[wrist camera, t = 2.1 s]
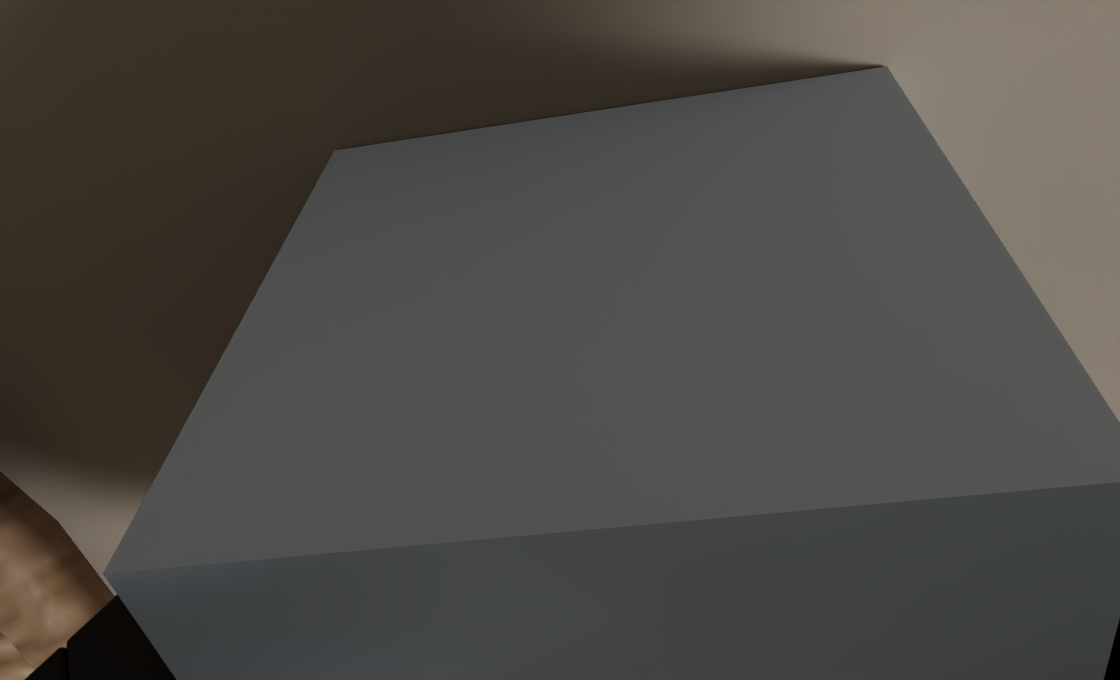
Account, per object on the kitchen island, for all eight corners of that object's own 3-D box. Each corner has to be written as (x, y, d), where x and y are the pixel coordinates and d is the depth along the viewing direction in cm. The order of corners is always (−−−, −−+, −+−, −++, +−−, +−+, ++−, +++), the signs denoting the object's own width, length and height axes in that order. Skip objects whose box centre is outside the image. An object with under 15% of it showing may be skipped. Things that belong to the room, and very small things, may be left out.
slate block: (877, 480, 11) (1029, 960, 7) (461, 519, 12) (382, 976, 8) (886, 67, 8) (1154, 477, 4) (333, 150, 9) (103, 572, 5)
